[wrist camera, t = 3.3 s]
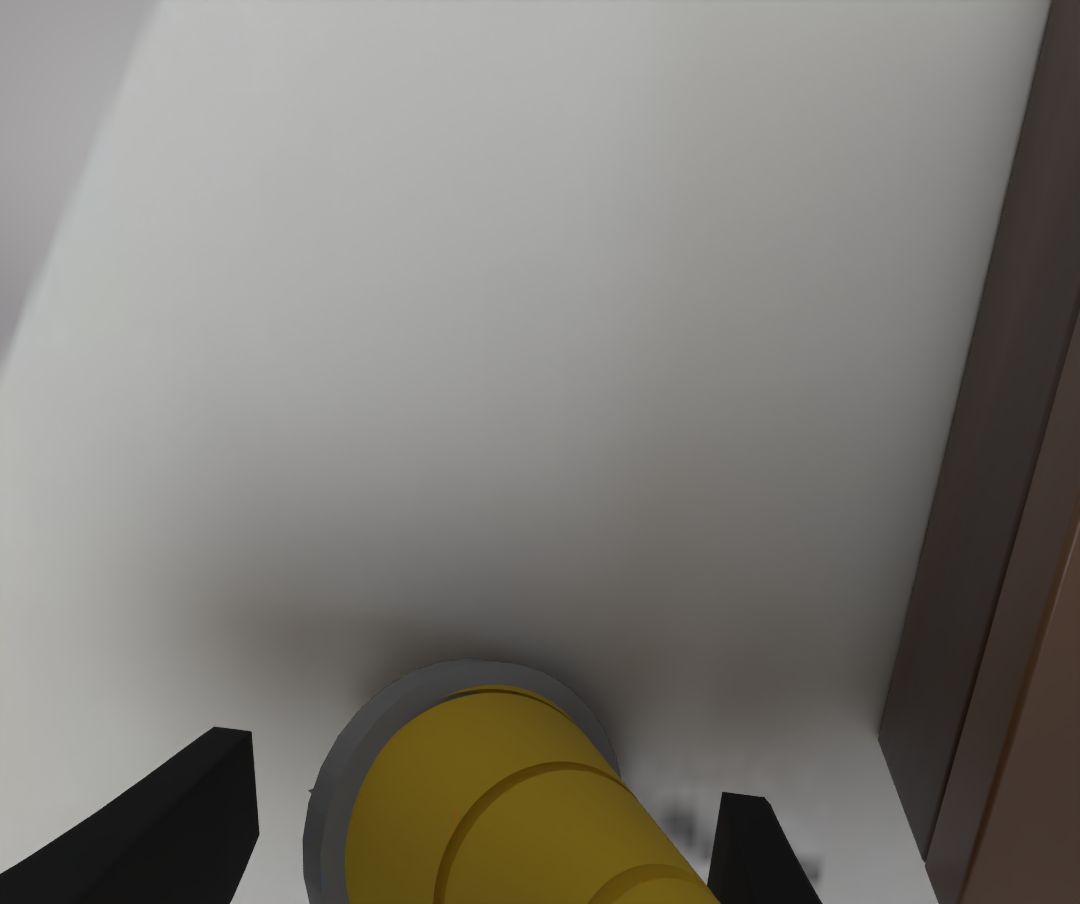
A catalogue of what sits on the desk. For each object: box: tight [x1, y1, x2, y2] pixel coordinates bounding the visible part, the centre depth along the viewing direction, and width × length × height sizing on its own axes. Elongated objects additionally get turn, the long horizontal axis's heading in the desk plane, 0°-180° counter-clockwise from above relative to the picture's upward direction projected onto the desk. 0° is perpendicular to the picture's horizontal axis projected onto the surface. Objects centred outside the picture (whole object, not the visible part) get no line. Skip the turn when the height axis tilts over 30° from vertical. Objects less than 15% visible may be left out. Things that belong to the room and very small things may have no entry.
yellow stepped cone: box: [303, 658, 721, 904], centre depth 13 cm, size 5×5×10 cm
